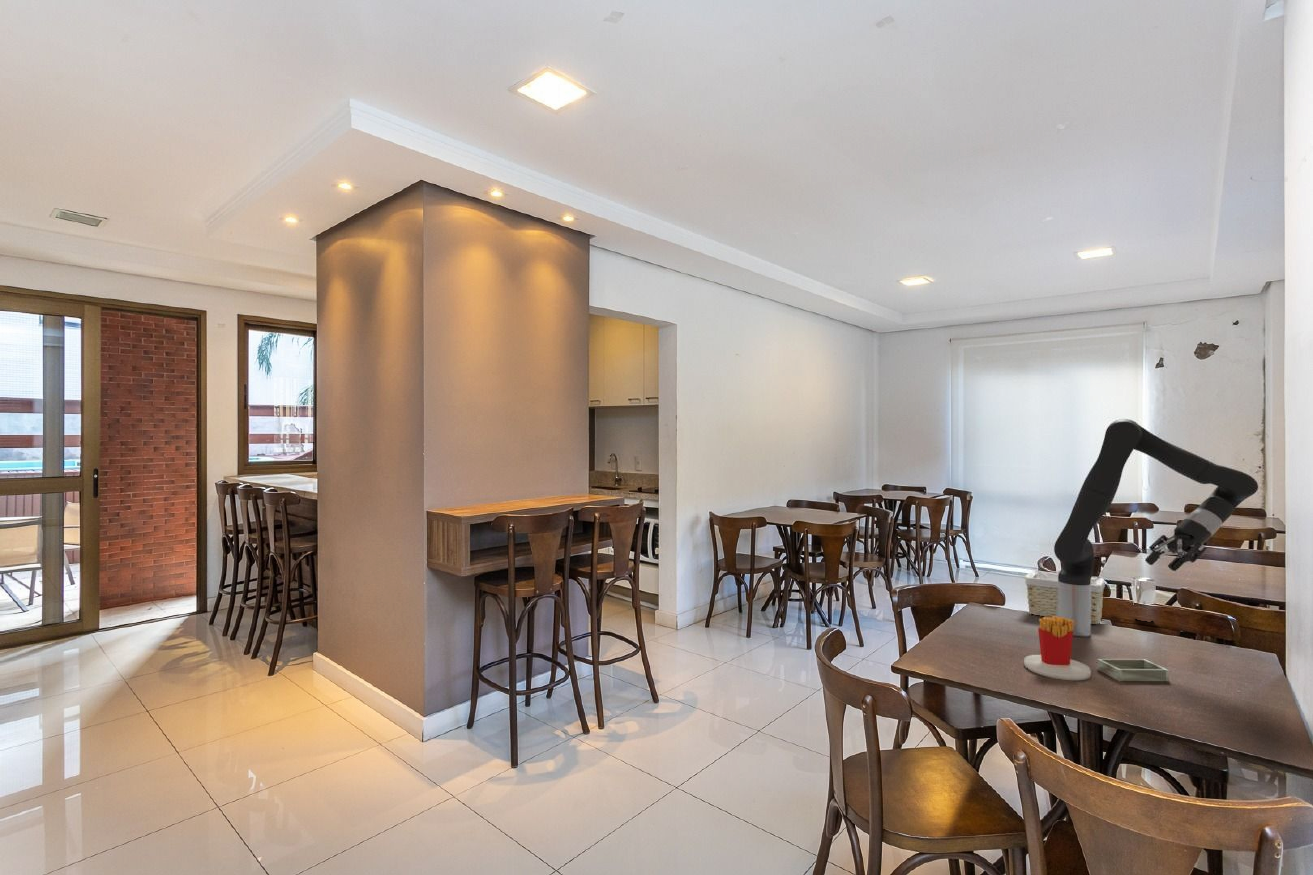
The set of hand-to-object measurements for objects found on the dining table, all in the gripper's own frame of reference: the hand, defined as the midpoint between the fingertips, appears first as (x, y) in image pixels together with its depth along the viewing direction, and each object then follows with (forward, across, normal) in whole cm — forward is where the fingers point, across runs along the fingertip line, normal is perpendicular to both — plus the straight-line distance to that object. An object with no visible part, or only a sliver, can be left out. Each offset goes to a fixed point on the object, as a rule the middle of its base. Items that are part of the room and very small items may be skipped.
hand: (1159, 565), depth 183 cm
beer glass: (0, -43, +40) cm, 59 cm away
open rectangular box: (+31, +10, +9) cm, 34 cm away
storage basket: (+18, -48, +23) cm, 56 cm away
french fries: (+43, +4, -4) cm, 43 cm away
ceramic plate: (+44, +6, -4) cm, 45 cm away
